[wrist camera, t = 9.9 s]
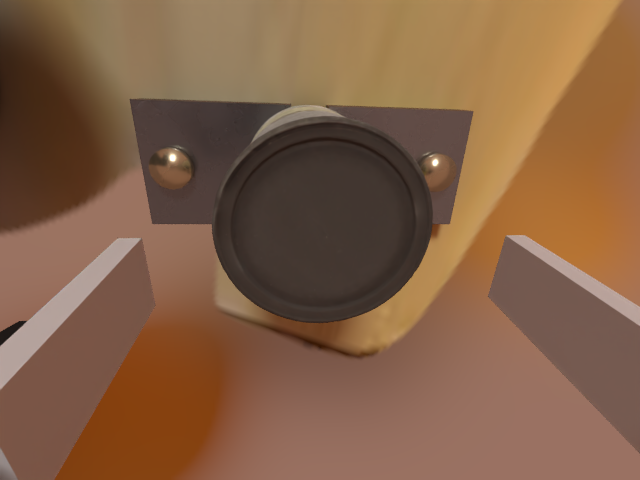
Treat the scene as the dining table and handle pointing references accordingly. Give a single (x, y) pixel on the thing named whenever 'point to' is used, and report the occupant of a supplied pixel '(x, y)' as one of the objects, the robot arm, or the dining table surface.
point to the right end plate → (425, 145)
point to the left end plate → (192, 151)
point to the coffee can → (321, 216)
